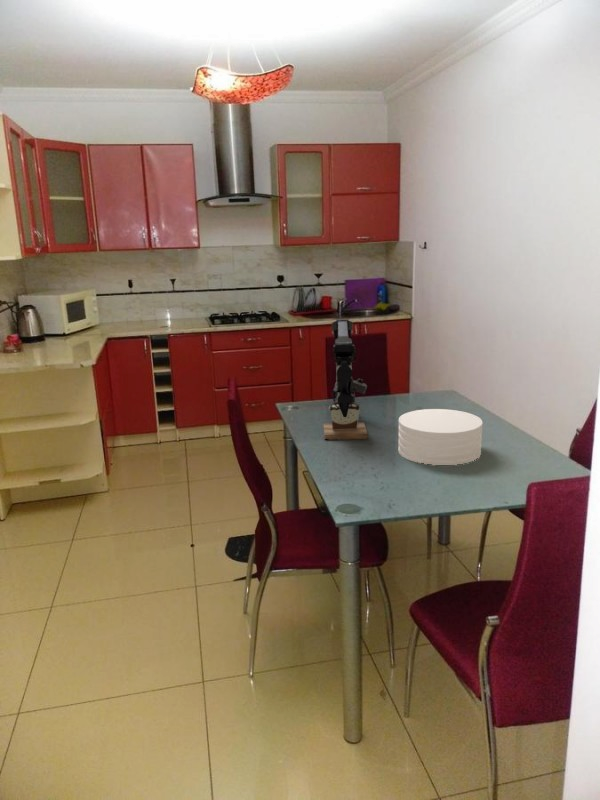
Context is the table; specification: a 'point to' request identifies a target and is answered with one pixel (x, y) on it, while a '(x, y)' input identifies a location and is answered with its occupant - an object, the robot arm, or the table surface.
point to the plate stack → (440, 436)
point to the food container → (344, 422)
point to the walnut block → (345, 432)
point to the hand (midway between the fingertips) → (344, 414)
